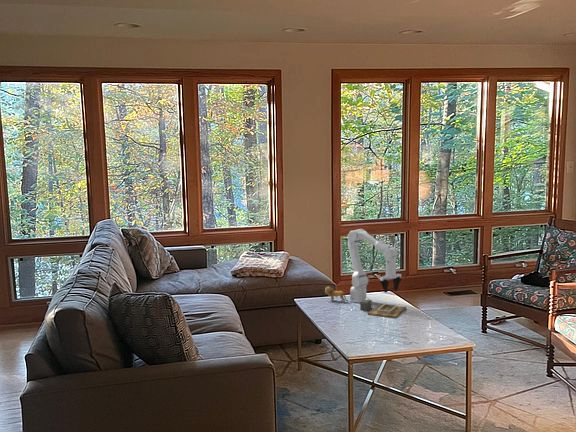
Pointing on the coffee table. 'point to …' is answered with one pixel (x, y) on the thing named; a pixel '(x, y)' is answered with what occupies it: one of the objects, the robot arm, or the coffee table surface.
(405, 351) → the coffee table surface
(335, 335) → the coffee table surface
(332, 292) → the lion figurine
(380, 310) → the pocket plate
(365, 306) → the servo block
